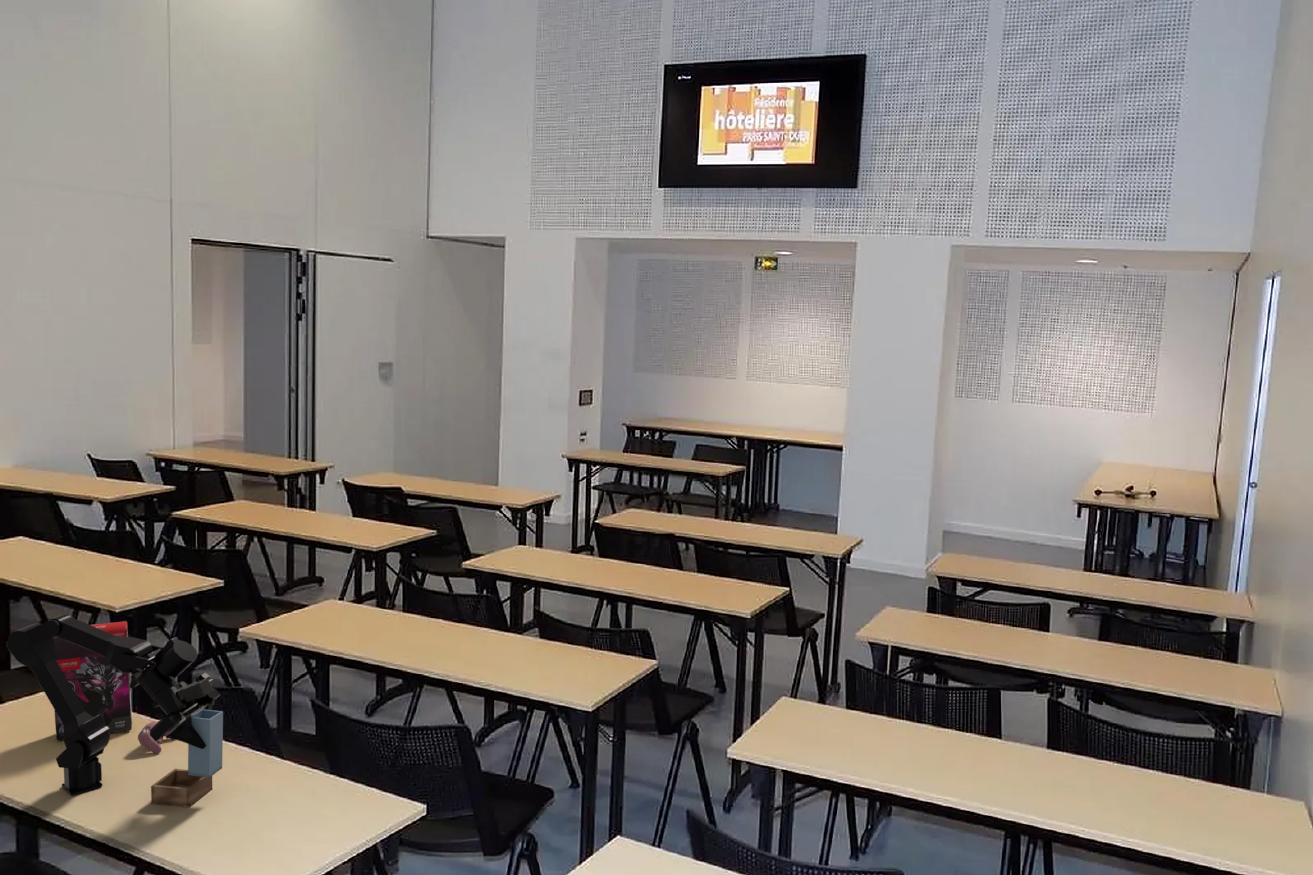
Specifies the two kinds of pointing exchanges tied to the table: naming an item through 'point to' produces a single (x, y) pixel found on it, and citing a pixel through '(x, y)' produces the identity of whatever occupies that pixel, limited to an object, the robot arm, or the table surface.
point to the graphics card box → (96, 681)
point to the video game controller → (150, 738)
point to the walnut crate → (180, 789)
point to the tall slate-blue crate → (212, 735)
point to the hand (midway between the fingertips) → (211, 742)
